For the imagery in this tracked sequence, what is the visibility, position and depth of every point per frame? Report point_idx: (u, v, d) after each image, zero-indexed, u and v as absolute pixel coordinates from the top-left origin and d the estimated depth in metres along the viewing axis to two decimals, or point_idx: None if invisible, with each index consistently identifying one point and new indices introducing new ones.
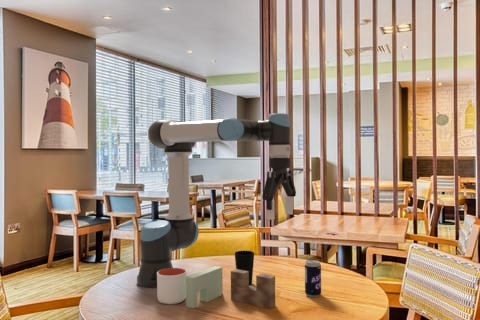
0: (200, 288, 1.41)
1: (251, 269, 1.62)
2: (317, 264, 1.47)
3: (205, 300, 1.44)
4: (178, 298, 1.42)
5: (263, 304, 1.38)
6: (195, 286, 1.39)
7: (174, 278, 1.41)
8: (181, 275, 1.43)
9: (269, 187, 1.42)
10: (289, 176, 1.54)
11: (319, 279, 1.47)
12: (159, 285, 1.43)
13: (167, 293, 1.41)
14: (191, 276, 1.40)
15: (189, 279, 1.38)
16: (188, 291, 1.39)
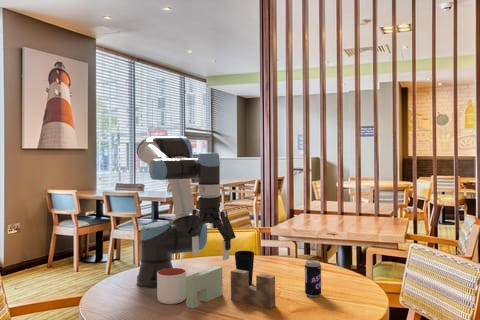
0: (200, 288, 1.41)
1: (251, 269, 1.62)
2: (317, 264, 1.47)
3: (205, 300, 1.44)
4: (178, 298, 1.42)
5: (263, 304, 1.38)
6: (195, 286, 1.39)
7: (174, 278, 1.41)
8: (181, 275, 1.43)
9: None
10: None
11: (319, 279, 1.47)
12: (159, 285, 1.43)
13: (167, 293, 1.41)
14: (191, 276, 1.40)
15: (189, 279, 1.38)
16: (188, 291, 1.39)
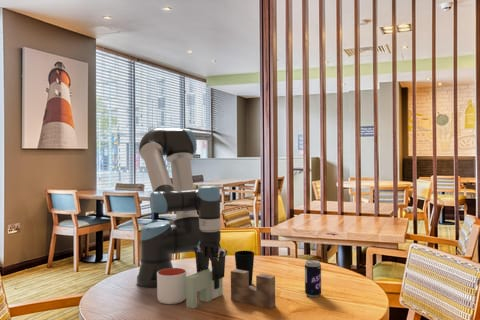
0: (200, 288, 1.41)
1: (251, 269, 1.62)
2: (317, 264, 1.47)
3: (205, 300, 1.44)
4: (178, 298, 1.42)
5: (263, 304, 1.38)
6: (195, 286, 1.39)
7: (174, 278, 1.41)
8: (181, 275, 1.43)
9: None
10: None
11: (319, 279, 1.47)
12: (159, 285, 1.43)
13: (167, 293, 1.41)
14: (191, 276, 1.40)
15: (189, 279, 1.38)
16: (188, 291, 1.39)
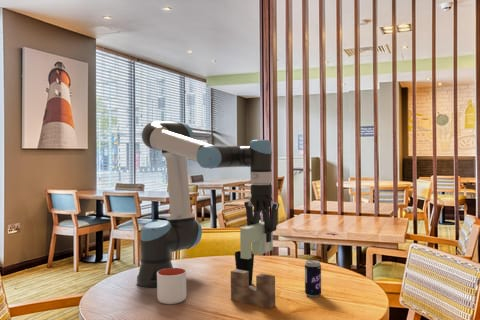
0: (254, 240, 1.41)
1: (251, 269, 1.62)
2: (317, 264, 1.47)
3: (258, 253, 1.44)
4: (178, 298, 1.42)
5: (263, 304, 1.38)
6: (249, 237, 1.38)
7: (174, 278, 1.41)
8: (181, 275, 1.43)
9: None
10: None
11: (319, 279, 1.47)
12: (159, 285, 1.43)
13: (167, 293, 1.41)
14: (245, 227, 1.40)
15: (244, 230, 1.38)
16: (242, 242, 1.39)
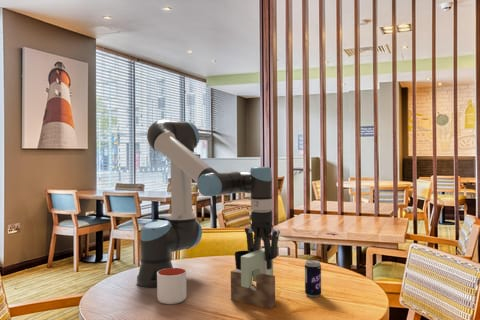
0: (254, 268, 1.41)
1: None
2: (317, 264, 1.47)
3: None
4: (178, 298, 1.42)
5: (263, 304, 1.38)
6: (250, 266, 1.39)
7: (174, 278, 1.41)
8: (181, 275, 1.43)
9: None
10: None
11: (319, 279, 1.47)
12: (159, 285, 1.43)
13: (167, 293, 1.41)
14: (246, 256, 1.40)
15: (245, 258, 1.38)
16: (243, 270, 1.39)
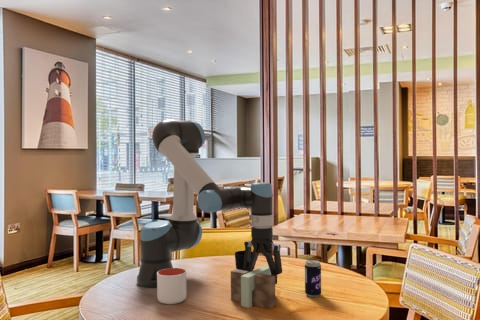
0: (254, 287, 1.41)
1: None
2: (317, 264, 1.47)
3: None
4: (178, 298, 1.42)
5: (263, 304, 1.38)
6: (250, 286, 1.39)
7: (174, 278, 1.41)
8: (181, 275, 1.43)
9: None
10: None
11: (319, 279, 1.47)
12: (159, 285, 1.43)
13: (167, 293, 1.41)
14: (246, 275, 1.40)
15: (245, 278, 1.38)
16: (243, 290, 1.39)
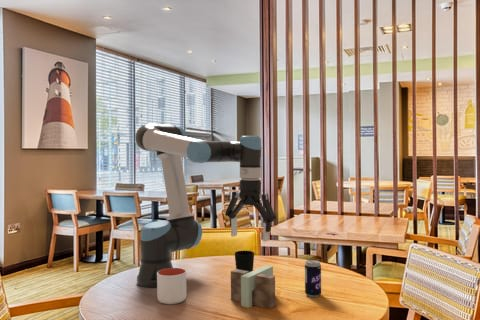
0: (254, 287, 1.41)
1: (251, 269, 1.62)
2: (317, 264, 1.47)
3: None
4: (178, 298, 1.42)
5: (263, 304, 1.38)
6: (250, 286, 1.39)
7: (174, 278, 1.41)
8: (181, 275, 1.43)
9: None
10: None
11: (319, 279, 1.47)
12: (159, 285, 1.43)
13: (167, 293, 1.41)
14: (246, 275, 1.40)
15: (245, 278, 1.38)
16: (243, 290, 1.39)
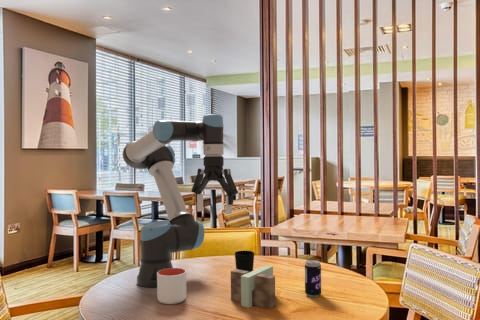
0: (254, 287, 1.41)
1: (251, 269, 1.62)
2: (317, 264, 1.47)
3: None
4: (178, 298, 1.42)
5: (263, 304, 1.38)
6: (250, 286, 1.39)
7: (174, 278, 1.41)
8: (181, 275, 1.43)
9: None
10: None
11: (319, 279, 1.47)
12: (159, 285, 1.43)
13: (167, 293, 1.41)
14: (246, 275, 1.40)
15: (245, 278, 1.38)
16: (243, 290, 1.39)
